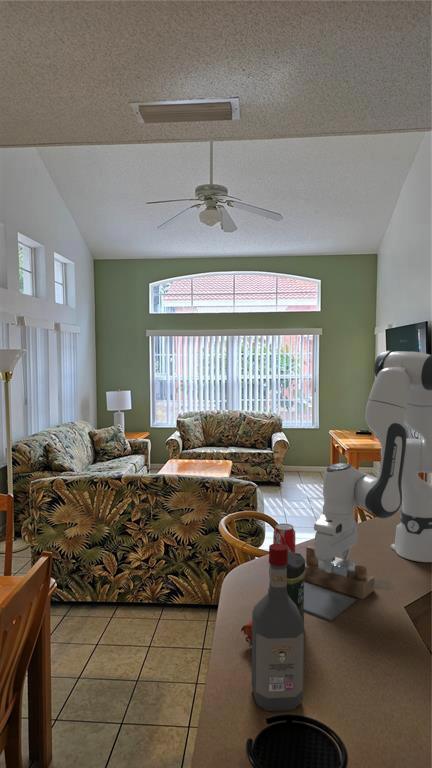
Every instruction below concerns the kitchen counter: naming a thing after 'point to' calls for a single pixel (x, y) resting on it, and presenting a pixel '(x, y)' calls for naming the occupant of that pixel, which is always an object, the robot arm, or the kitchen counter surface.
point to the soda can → (285, 536)
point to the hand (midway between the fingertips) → (337, 566)
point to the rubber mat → (324, 602)
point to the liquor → (277, 641)
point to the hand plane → (338, 577)
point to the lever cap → (339, 567)
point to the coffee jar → (296, 580)
